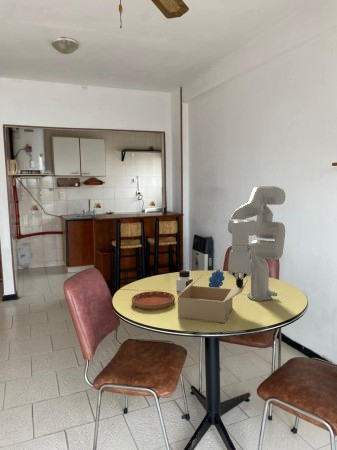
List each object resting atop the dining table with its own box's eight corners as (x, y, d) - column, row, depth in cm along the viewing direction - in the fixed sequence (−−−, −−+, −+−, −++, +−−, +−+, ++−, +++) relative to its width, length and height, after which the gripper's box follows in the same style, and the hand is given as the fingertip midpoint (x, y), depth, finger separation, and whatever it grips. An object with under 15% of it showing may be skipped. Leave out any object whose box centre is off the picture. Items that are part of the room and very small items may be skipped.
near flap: (232, 288, 173) (232, 289, 173) (224, 301, 155) (225, 301, 155) (247, 279, 169) (247, 280, 169) (241, 291, 152) (241, 292, 152)
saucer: (127, 300, 191) (126, 293, 190) (166, 294, 199) (166, 288, 198) (138, 314, 169) (138, 307, 169) (181, 307, 177) (181, 300, 177)
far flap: (178, 296, 163) (177, 295, 163) (189, 285, 180) (189, 284, 180) (191, 285, 160) (191, 284, 160) (202, 275, 177) (202, 274, 177)
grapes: (219, 286, 211) (219, 267, 210) (226, 289, 206) (226, 269, 204) (204, 289, 205) (204, 270, 204) (211, 292, 200) (211, 272, 198)
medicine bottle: (186, 293, 200) (185, 272, 199) (176, 291, 204) (175, 271, 203) (193, 290, 206) (192, 270, 204) (183, 288, 210) (182, 268, 209)
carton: (232, 308, 174) (232, 289, 173) (224, 323, 156) (224, 302, 155) (190, 303, 182) (190, 285, 181) (178, 317, 163) (177, 297, 162)
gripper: (257, 247, 160) (257, 286, 161) (225, 246, 165) (225, 283, 167) (255, 250, 153) (254, 291, 154) (222, 248, 158) (221, 287, 160)
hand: (239, 287), depth 161 cm, fingers closed
